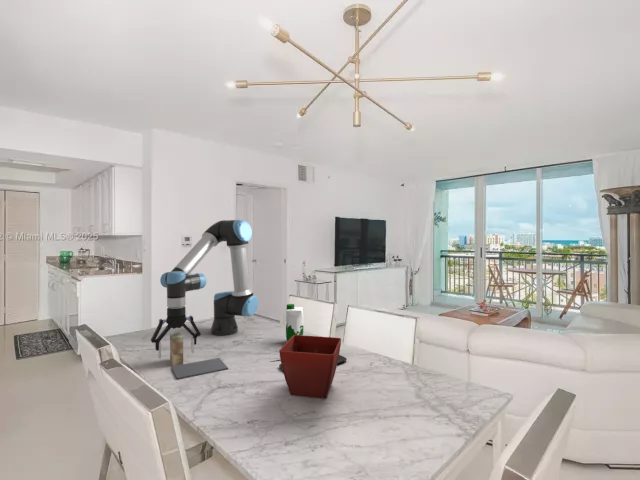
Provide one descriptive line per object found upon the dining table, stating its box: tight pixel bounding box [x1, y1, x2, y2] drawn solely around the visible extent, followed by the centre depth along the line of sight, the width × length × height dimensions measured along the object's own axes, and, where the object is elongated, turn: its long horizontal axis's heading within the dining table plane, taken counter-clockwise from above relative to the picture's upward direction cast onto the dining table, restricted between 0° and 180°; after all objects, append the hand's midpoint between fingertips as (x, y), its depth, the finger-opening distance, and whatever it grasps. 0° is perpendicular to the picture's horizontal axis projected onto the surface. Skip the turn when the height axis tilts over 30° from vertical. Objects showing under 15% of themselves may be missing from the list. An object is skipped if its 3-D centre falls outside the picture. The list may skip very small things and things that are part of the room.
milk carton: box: [285, 303, 304, 343], centre depth 180 cm, size 9×9×20 cm
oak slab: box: [169, 331, 184, 366], centre depth 153 cm, size 4×9×12 cm, turn 32°
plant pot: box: [278, 334, 342, 400], centre depth 126 cm, size 19×19×17 cm
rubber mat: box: [170, 357, 229, 380], centre depth 146 cm, size 20×14×1 cm
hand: (176, 354), depth 153 cm, fingers open, 13 cm apart
